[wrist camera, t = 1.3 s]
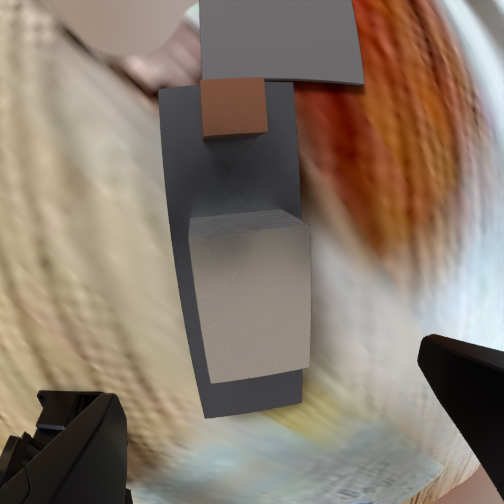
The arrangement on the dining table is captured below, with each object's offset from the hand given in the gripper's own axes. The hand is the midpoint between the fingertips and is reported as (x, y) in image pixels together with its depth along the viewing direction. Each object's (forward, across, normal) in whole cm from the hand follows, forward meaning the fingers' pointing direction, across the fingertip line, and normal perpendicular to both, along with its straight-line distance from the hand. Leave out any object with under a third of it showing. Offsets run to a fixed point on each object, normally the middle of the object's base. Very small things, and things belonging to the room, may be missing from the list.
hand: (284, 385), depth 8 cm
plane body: (+12, 0, 0) cm, 12 cm away
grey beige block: (+8, 0, 0) cm, 9 cm away
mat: (+12, -4, -16) cm, 20 cm away
